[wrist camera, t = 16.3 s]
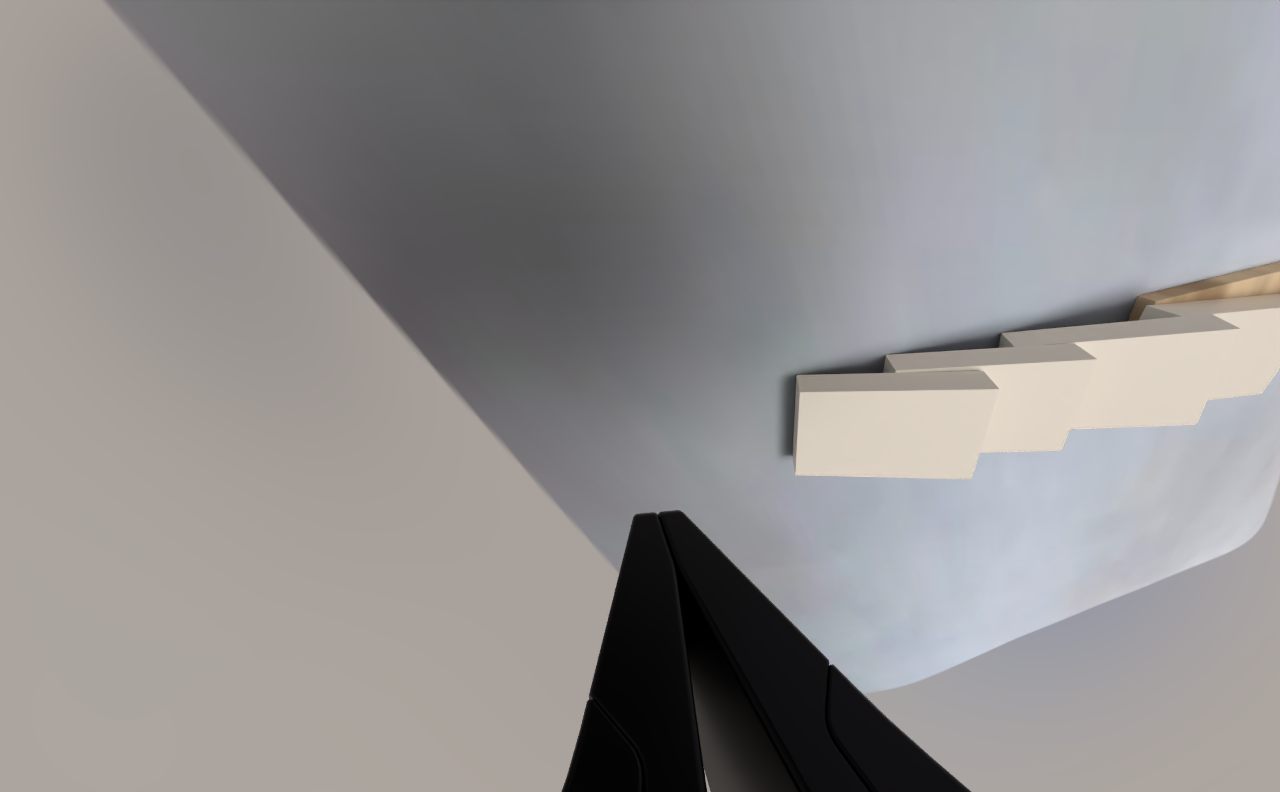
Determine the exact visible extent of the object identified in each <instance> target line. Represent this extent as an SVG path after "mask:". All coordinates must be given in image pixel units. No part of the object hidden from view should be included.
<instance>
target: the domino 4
mask: <svg viewBox="0 0 1280 792" xmlns="http://www.w3.org/2000/svg"><path fill="white" fill-rule="evenodd" d="M1203 314H1213V315H1215V316H1217V317H1219V318H1221V319H1223V320H1225V321H1227V322H1228V323H1230V324H1232V325H1234V326H1236V327H1238V328H1240V331H1239V333H1238V336H1237V338H1236V340H1235V342H1234V344H1233V346H1232V349H1231V351H1230V353H1229V355H1228V357H1227V359H1226V362H1225V364H1224V366H1223V368H1222V370H1221V372H1220V375H1219V377H1218V379H1217V381H1216V383H1215V385H1214V388H1213V390H1212V392H1211V394H1210V396H1209V398H1208V400H1213V399H1221V398H1230V397H1238V396H1247V395H1255V394H1262V392H1263V391H1264V390H1265V388H1266V387H1267V385H1268V384H1269V383H1270V381H1271V380H1272V379H1273V377H1274V376H1275V374H1276V373H1277V372H1278V370H1279V369H1280V294H1269V295H1258V296H1247V297H1236V298H1225V299H1214V300H1202V301H1191V302H1180V303H1169V304H1158V305H1146V307H1145V309H1144V311H1143V313H1142V315H1141V317H1140V319H1139V320H1149V319H1160V318H1170V317H1181V316H1192V315H1203Z"/></svg>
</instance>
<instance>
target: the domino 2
mask: <svg viewBox="0 0 1280 792" xmlns="http://www.w3.org/2000/svg"><path fill="white" fill-rule="evenodd" d="M1097 360H1098V359H1097V358H1095V357H1094V356H1092V355H1091V354H1089V353H1088V352H1086V351H1085V350H1083V349H1082V348H1081V347H1079V346H1078V345H1076V344H1075V343H1069V344H1053V345H1037V346H1021V347H1005V348H989V349H973V350H957V351H941V352H925V353H909V354H893V355H886V356H885V363H884V371H883V373H908V372H952V371H984V372H985V373H986V374H987V375H988V377H989V378H990V379H991V380H992V381H993V382H994V383H995V385H996V386H997V387H998V388H999V389H1000V390H999V393H998V396H997V399H996V402H995V406H994V409H993V412H992V415H991V419H990V422H989V425H988V428H987V431H986V435H985V438H984V441H983V444H982V448H981V451H980V453H986V452H1030V451H1062V448H1063V446H1064V443H1065V441H1066V438H1067V436H1068V433H1069V431H1070V428H1071V426H1072V423H1073V420H1074V418H1075V415H1076V413H1077V410H1078V408H1079V405H1080V403H1081V400H1082V398H1083V395H1084V393H1085V390H1086V388H1087V385H1088V383H1089V380H1090V377H1091V375H1092V372H1093V370H1094V367H1095V365H1096V362H1097Z"/></svg>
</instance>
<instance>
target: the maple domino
mask: <svg viewBox="0 0 1280 792" xmlns="http://www.w3.org/2000/svg"><path fill="white" fill-rule="evenodd" d="M1269 294H1280V262H1276V263H1272V264H1268V265H1264V266H1259V267H1255V268H1251V269H1247V270H1243V271H1239V272H1235V273H1230V274H1226V275H1222V276H1218V277H1214V278H1210V279H1206V280H1201V281H1197V282H1193V283H1189V284H1185V285H1181V286H1177V287H1173V288H1168V289H1164V290H1160V291H1156V292H1152V293H1148V294H1144V295H1139V296H1137V298H1136V301H1135V304H1134V306H1133V309H1132V311H1131V314H1130V317H1129V319H1128V321H1138V320H1139V319H1140V317H1141V315H1142V313H1143V311H1144V309H1145V307H1146V305H1158V304H1169V303H1180V302H1191V301H1202V300H1214V299H1225V298H1236V297H1247V296H1258V295H1269Z"/></svg>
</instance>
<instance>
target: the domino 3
mask: <svg viewBox="0 0 1280 792" xmlns="http://www.w3.org/2000/svg"><path fill="white" fill-rule="evenodd" d="M1239 331H1240V328H1238V327H1236V326H1234V325H1232V324H1230V323H1228V322H1227V321H1225V320H1223V319H1221V318H1219V317H1217V316H1215V315H1213V314H1203V315H1192V316H1181V317H1170V318H1160V319H1149V320H1138V321H1127V322H1116V323H1105V324H1094V325H1083V326H1072V327H1061V328H1050V329H1039V330H1029V331H1018V332H1007V333H1001V337H1000V343H999V348H1005V347H1021V346H1037V345H1053V344H1069V343H1075V344H1076V345H1078V346H1079V347H1081V348H1082V349H1083V350H1085V351H1086V352H1088V353H1089V354H1091V355H1092V356H1094V357H1095V358H1097V359H1098V360H1097V362H1096V365H1095V367H1094V370H1093V372H1092V375H1091V377H1090V380H1089V383H1088V385H1087V388H1086V390H1085V393H1084V395H1083V398H1082V400H1081V403H1080V405H1079V408H1078V410H1077V413H1076V415H1075V418H1074V420H1073V423H1072V426H1071V428H1070V429H1094V428H1120V427H1146V426H1172V425H1196V424H1197V422H1198V420H1199V418H1200V416H1201V414H1202V411H1203V409H1204V407H1205V405H1206V403H1207V401H1208V398H1209V396H1210V394H1211V392H1212V390H1213V388H1214V385H1215V383H1216V381H1217V379H1218V377H1219V375H1220V372H1221V370H1222V368H1223V366H1224V364H1225V362H1226V359H1227V357H1228V355H1229V353H1230V351H1231V349H1232V346H1233V344H1234V342H1235V340H1236V338H1237V336H1238V333H1239Z"/></svg>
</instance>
